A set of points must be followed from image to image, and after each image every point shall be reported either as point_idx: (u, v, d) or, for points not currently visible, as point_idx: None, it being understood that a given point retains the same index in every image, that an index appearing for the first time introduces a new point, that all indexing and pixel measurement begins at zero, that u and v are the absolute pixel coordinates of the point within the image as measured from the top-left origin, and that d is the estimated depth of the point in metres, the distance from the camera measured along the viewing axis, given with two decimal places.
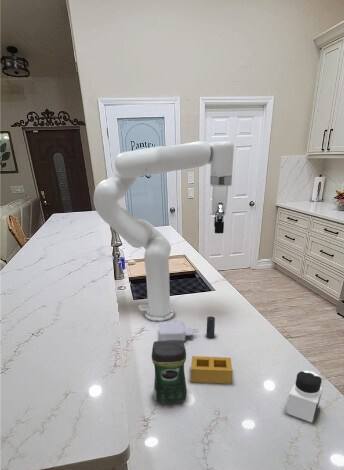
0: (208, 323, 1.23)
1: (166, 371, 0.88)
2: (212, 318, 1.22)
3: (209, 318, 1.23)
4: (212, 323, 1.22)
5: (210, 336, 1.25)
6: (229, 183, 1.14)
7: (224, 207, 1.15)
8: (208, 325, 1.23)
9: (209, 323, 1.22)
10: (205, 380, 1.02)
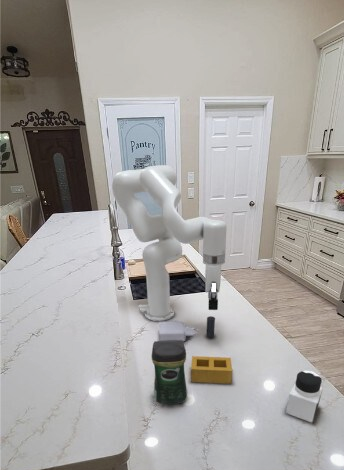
0: (208, 323, 1.23)
1: (166, 371, 0.88)
2: (212, 318, 1.22)
3: (209, 318, 1.23)
4: (212, 323, 1.22)
5: (210, 336, 1.25)
6: (222, 261, 1.10)
7: (218, 285, 1.11)
8: (208, 325, 1.23)
9: (209, 323, 1.22)
10: (205, 380, 1.02)
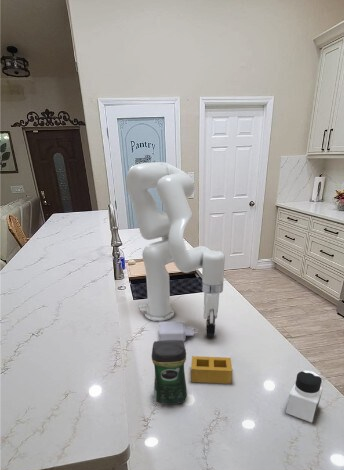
0: None
1: (166, 371, 0.88)
2: None
3: None
4: None
5: (210, 336, 1.25)
6: (220, 290, 1.15)
7: (215, 313, 1.16)
8: None
9: None
10: (205, 380, 1.02)
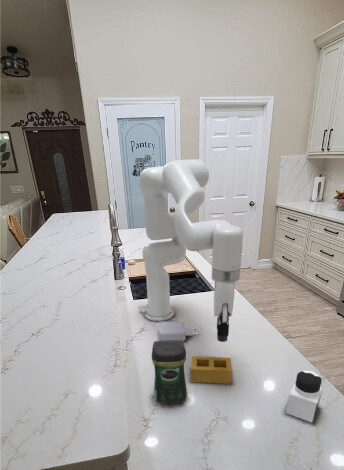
0: None
1: (166, 371, 0.88)
2: None
3: None
4: None
5: (222, 339, 0.96)
6: (237, 278, 0.86)
7: (230, 308, 0.88)
8: None
9: None
10: (205, 380, 1.02)
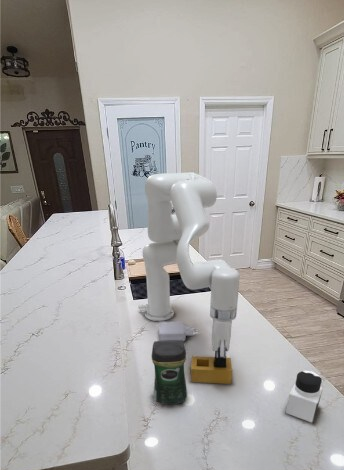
0: None
1: (166, 371, 0.88)
2: None
3: None
4: None
5: None
6: (233, 316, 0.92)
7: (227, 344, 0.93)
8: None
9: None
10: (205, 380, 1.02)
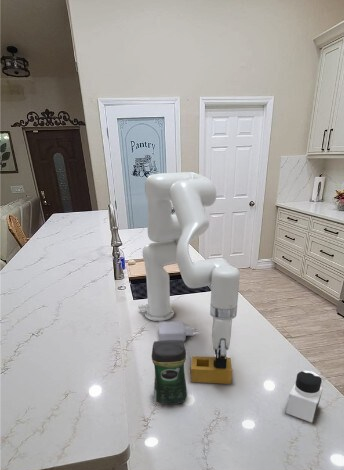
0: None
1: (166, 371, 0.88)
2: None
3: None
4: None
5: None
6: (234, 315, 0.91)
7: (227, 343, 0.93)
8: None
9: None
10: (205, 380, 1.02)
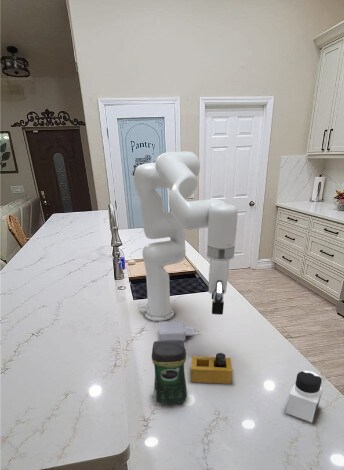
0: (217, 362, 1.01)
1: (166, 371, 0.88)
2: (222, 356, 1.01)
3: (218, 356, 1.01)
4: (222, 362, 1.01)
5: None
6: (231, 256, 0.89)
7: (224, 285, 0.91)
8: (217, 364, 1.01)
9: (219, 361, 1.00)
10: (205, 380, 1.02)
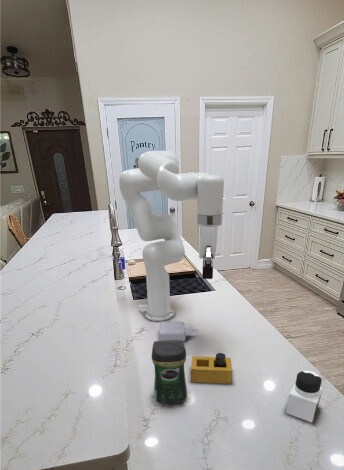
0: (217, 362, 1.01)
1: (166, 371, 0.88)
2: (222, 356, 1.01)
3: (218, 356, 1.01)
4: (222, 362, 1.01)
5: None
6: (219, 223, 0.97)
7: (213, 250, 0.98)
8: (217, 364, 1.01)
9: (219, 361, 1.00)
10: (205, 380, 1.02)
